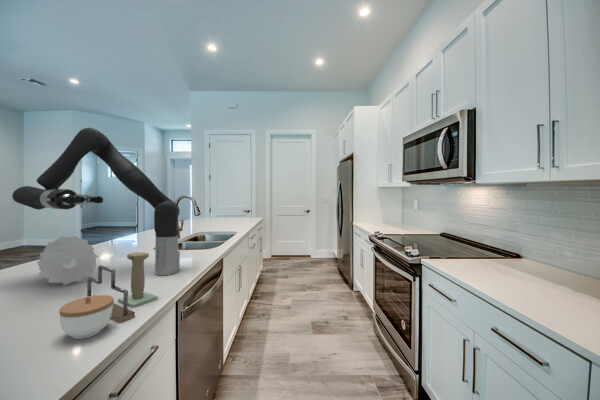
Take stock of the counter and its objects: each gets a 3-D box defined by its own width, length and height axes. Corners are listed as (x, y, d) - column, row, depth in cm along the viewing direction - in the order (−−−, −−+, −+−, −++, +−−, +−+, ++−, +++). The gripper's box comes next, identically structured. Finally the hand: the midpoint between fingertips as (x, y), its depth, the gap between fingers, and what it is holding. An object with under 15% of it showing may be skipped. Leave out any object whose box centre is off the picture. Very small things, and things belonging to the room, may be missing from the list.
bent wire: (94, 299, 84) (95, 260, 83) (134, 317, 72) (135, 271, 72) (80, 304, 80) (80, 263, 80) (119, 323, 69) (120, 275, 69)
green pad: (142, 293, 89) (142, 291, 89) (157, 299, 85) (157, 296, 85) (118, 301, 82) (118, 298, 82) (133, 308, 78) (133, 304, 78)
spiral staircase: (79, 278, 115) (84, 291, 97) (28, 269, 103) (24, 281, 86) (100, 241, 121) (109, 247, 103) (55, 229, 109) (56, 232, 92)
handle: (140, 301, 81) (140, 256, 81) (123, 299, 82) (123, 255, 82) (151, 295, 86) (151, 252, 85) (135, 294, 87) (135, 252, 86)
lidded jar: (93, 344, 59) (94, 305, 59) (46, 345, 58) (46, 306, 58) (122, 321, 70) (122, 289, 70) (82, 322, 69) (82, 289, 69)
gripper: (34, 188, 85) (64, 188, 80) (81, 189, 99) (109, 190, 94) (34, 209, 85) (64, 211, 80) (81, 208, 99) (109, 209, 94)
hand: (88, 200), depth 87 cm, fingers open, 8 cm apart
